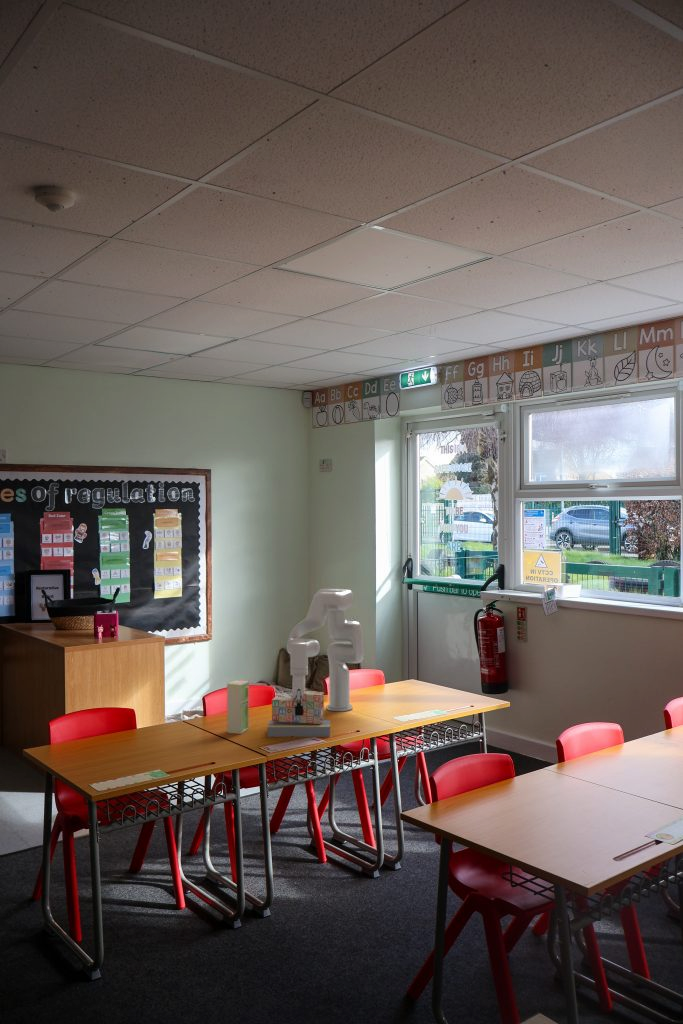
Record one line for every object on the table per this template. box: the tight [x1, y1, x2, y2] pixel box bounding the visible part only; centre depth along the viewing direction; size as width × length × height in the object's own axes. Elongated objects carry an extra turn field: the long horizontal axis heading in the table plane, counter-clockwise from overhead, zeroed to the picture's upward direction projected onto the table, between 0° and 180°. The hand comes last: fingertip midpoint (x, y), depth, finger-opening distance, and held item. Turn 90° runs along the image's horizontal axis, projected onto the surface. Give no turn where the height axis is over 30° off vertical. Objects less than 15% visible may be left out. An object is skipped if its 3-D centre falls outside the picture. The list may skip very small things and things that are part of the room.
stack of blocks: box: [271, 690, 325, 724], centre depth 362 cm, size 21×6×12 cm, turn 78°
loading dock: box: [266, 719, 331, 738], centre depth 362 cm, size 12×26×4 cm, turn 90°
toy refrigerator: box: [226, 679, 250, 735], centre depth 365 cm, size 8×7×21 cm
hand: (299, 712), depth 362 cm, fingers closed on stack of blocks, 6 cm apart
